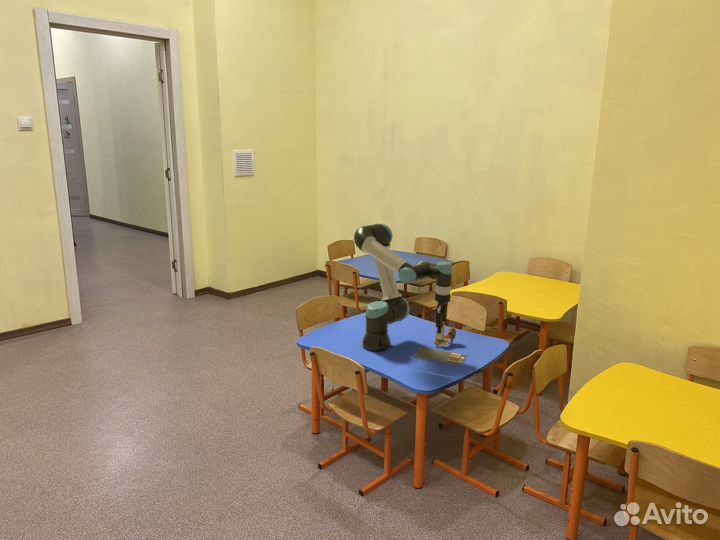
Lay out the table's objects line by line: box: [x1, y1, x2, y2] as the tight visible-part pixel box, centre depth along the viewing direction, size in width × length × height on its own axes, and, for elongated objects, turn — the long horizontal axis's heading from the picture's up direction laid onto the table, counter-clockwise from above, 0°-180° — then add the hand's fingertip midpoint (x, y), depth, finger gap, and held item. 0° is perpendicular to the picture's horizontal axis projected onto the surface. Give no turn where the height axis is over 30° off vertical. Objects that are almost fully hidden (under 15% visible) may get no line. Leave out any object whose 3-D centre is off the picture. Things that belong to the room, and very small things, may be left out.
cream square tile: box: [449, 352, 462, 361], centre depth 268 cm, size 5×5×2 cm
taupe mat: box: [412, 347, 469, 367], centre depth 271 cm, size 25×14×1 cm, turn 65°
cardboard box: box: [433, 321, 451, 348], centre depth 267 cm, size 6×9×11 cm, turn 155°
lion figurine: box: [435, 327, 457, 349], centre depth 285 cm, size 15×5×9 cm, turn 133°
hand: (440, 337), depth 269 cm, fingers closed on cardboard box, 3 cm apart
